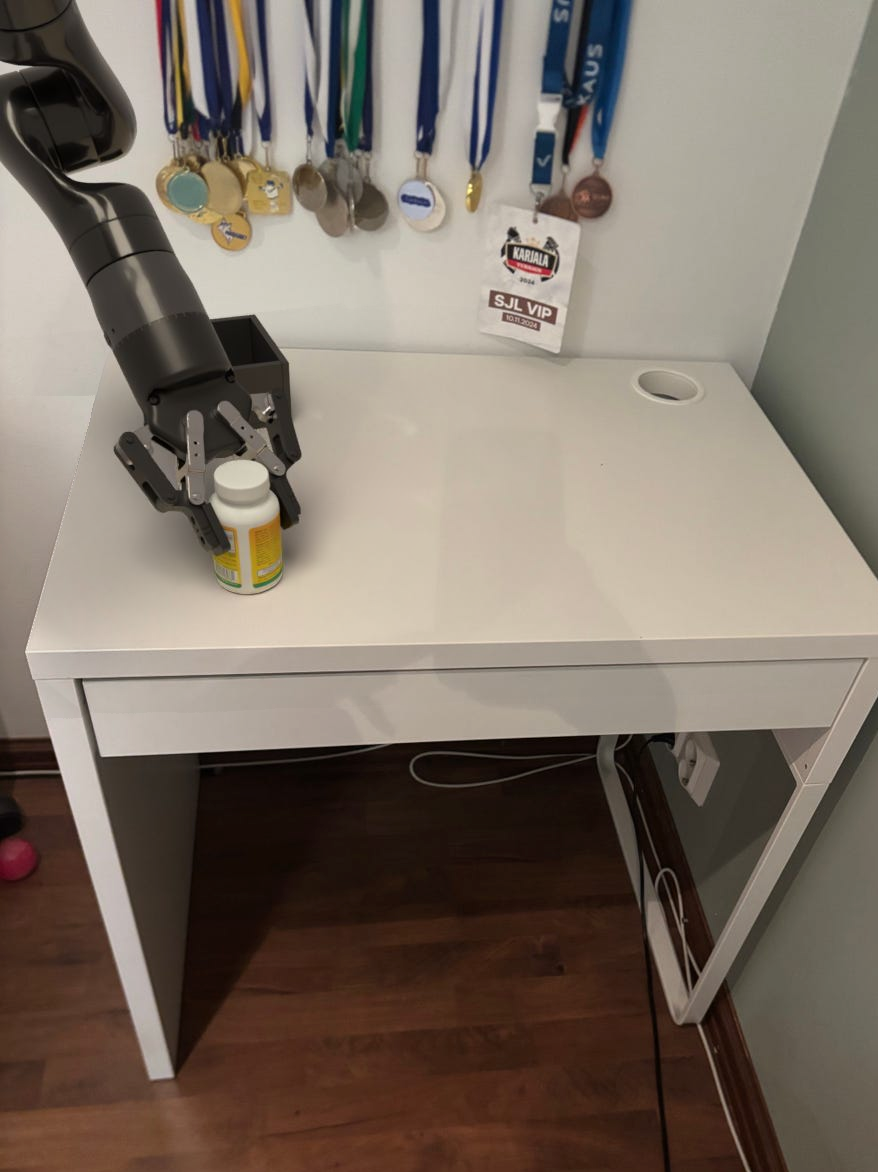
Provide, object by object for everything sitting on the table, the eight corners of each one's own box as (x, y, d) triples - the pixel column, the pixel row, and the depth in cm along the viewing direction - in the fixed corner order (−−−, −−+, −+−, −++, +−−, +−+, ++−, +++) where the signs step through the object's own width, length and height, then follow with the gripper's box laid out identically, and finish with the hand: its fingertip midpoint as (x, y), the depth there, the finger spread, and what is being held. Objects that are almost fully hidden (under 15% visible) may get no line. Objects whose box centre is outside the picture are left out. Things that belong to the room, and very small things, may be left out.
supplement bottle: (212, 596, 75) (199, 493, 68) (218, 555, 79) (205, 454, 72) (283, 596, 75) (276, 493, 69) (284, 555, 79) (278, 454, 73)
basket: (176, 440, 91) (167, 378, 87) (150, 386, 98) (141, 326, 94) (292, 423, 95) (289, 362, 91) (259, 372, 103) (254, 314, 98)
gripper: (75, 332, 64) (187, 562, 66) (260, 290, 72) (355, 496, 74) (57, 374, 70) (160, 583, 72) (228, 331, 78) (317, 520, 80)
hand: (258, 538), depth 73 cm, fingers closed on supplement bottle, 5 cm apart
